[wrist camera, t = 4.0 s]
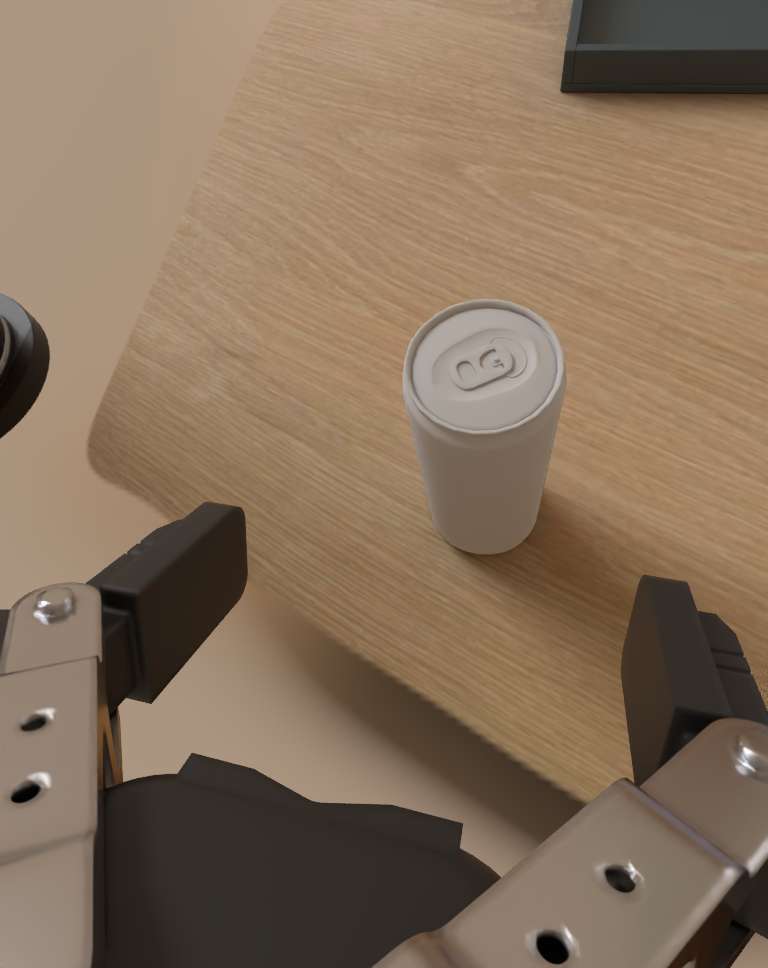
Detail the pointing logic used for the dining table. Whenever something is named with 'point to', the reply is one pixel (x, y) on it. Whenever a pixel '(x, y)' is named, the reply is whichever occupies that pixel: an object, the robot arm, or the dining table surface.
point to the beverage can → (484, 419)
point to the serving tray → (667, 46)
